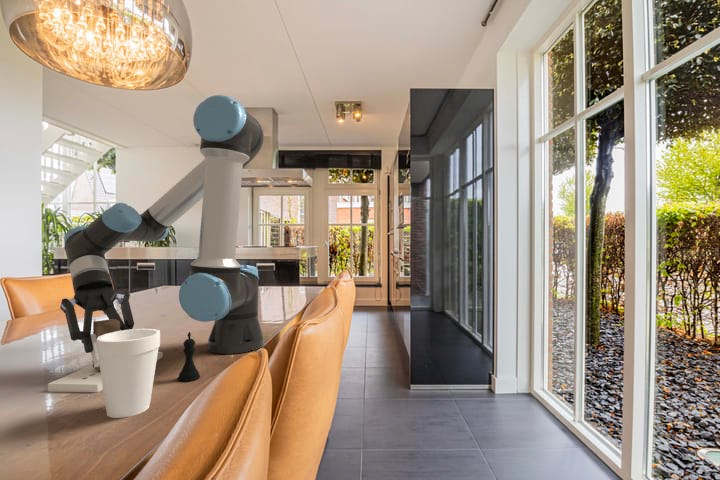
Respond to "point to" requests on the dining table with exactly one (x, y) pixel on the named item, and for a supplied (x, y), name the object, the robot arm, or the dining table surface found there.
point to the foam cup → (128, 370)
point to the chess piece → (189, 362)
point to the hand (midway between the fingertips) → (111, 360)
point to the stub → (105, 329)
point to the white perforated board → (81, 381)
